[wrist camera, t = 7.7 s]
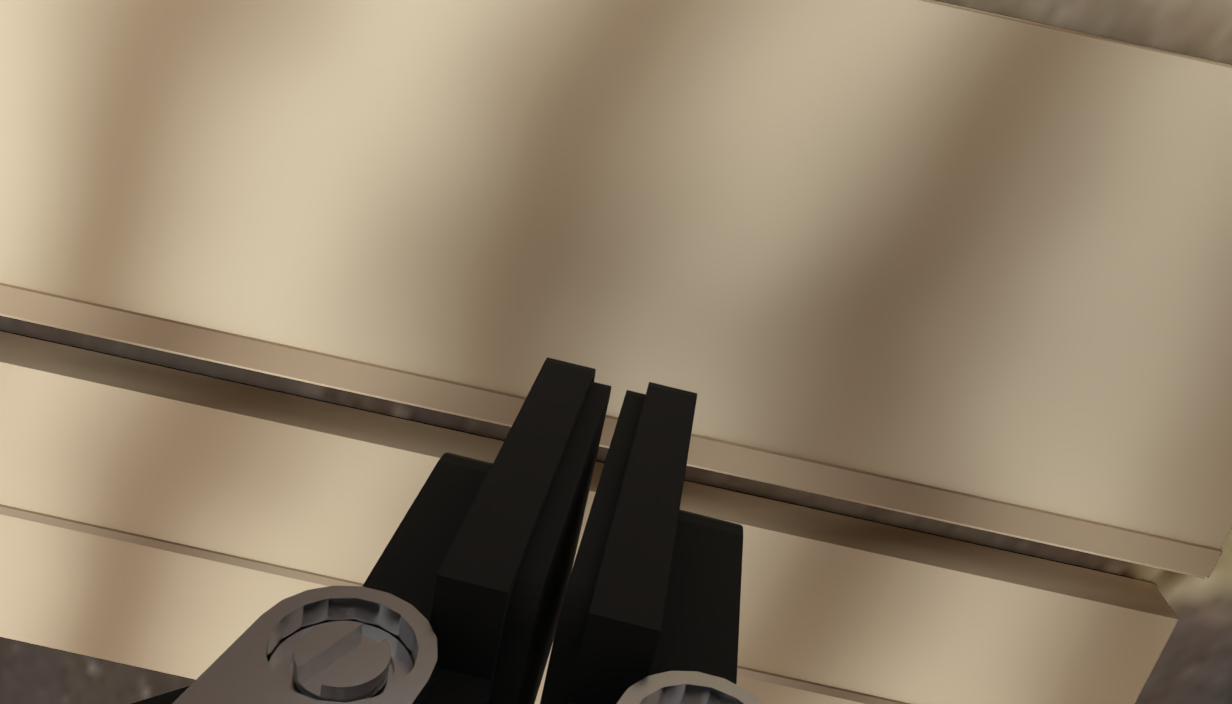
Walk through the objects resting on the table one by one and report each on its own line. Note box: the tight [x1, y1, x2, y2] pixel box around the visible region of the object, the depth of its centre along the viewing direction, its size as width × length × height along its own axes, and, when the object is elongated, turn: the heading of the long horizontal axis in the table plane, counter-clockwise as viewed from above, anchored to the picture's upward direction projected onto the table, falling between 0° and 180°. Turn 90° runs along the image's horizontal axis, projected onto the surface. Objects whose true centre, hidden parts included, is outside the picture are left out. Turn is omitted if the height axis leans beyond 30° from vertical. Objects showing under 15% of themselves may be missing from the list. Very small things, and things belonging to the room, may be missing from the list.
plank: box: [0, 0, 1232, 578], centre depth 18 cm, size 26×9×1 cm, turn 79°
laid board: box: [0, 331, 1179, 704], centre depth 22 cm, size 26×7×1 cm, turn 79°
